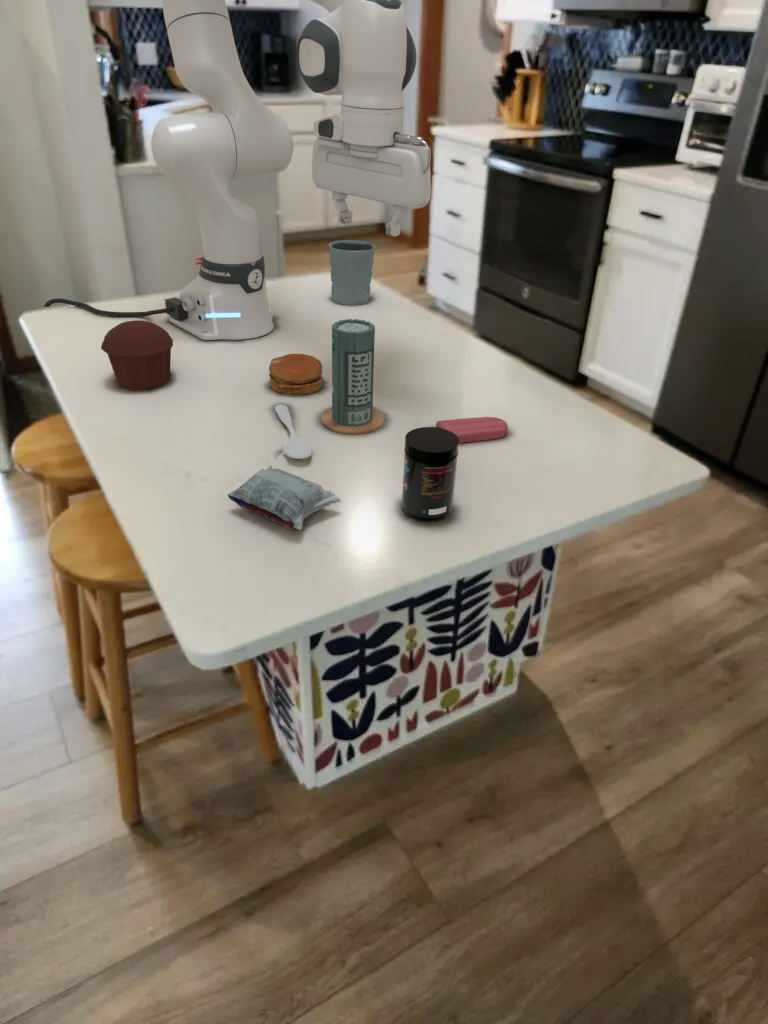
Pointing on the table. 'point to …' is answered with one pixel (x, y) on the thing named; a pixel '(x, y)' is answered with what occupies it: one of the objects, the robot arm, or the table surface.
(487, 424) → the popsicle
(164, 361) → the muffin
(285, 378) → the burger
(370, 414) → the can
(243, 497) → the packaged food
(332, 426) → the cork coaster
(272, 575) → the table surface
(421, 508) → the supplement container
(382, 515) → the table surface
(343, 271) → the drinking glass
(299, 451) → the spoon
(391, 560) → the table surface
